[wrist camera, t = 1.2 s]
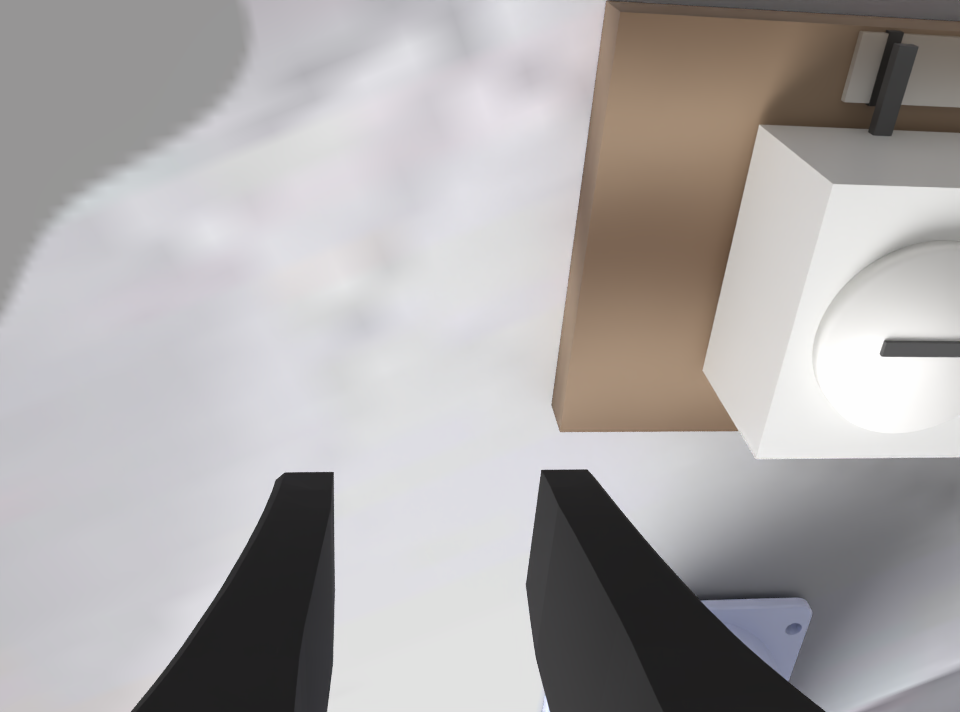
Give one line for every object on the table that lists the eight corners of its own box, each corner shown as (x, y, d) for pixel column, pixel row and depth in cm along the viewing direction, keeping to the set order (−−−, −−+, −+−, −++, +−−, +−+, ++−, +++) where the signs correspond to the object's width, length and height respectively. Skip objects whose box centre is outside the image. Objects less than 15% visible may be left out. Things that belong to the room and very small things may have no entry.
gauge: (1006, 371, 23) (1121, 473, 20) (702, 370, 22) (766, 477, 19) (1143, 54, 19) (1317, 110, 16) (779, 34, 18) (879, 89, 15)
